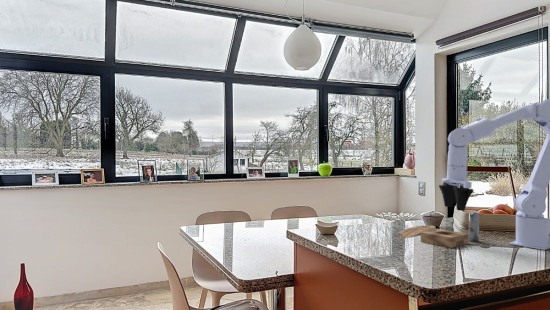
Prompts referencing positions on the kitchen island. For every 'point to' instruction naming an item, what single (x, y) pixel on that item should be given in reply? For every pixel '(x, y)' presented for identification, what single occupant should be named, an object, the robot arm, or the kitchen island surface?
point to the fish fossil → (415, 231)
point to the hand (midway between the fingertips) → (454, 208)
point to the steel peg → (473, 227)
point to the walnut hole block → (445, 238)
